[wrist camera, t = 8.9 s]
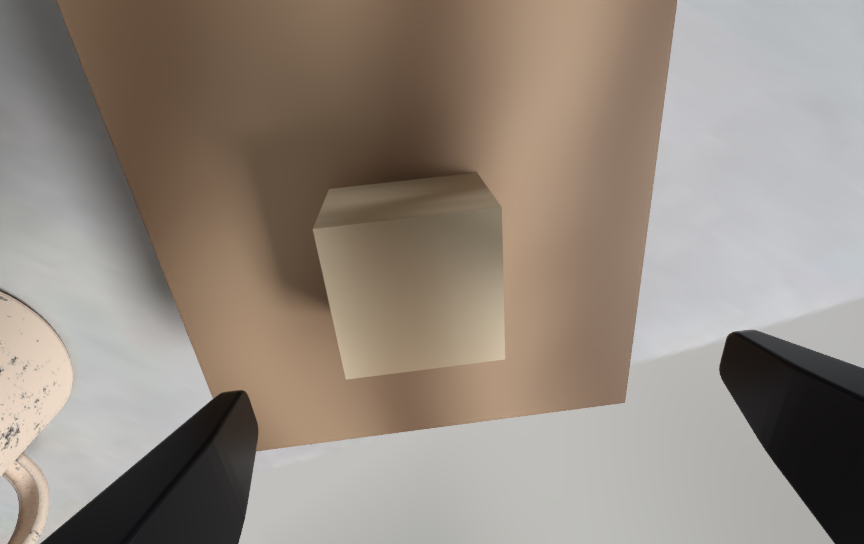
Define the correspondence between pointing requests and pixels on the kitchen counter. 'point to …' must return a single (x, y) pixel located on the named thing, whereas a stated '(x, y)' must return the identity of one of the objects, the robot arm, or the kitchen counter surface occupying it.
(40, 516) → the teacup with lid
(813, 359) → the robot arm
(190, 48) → the cover
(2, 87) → the kitchen counter surface
